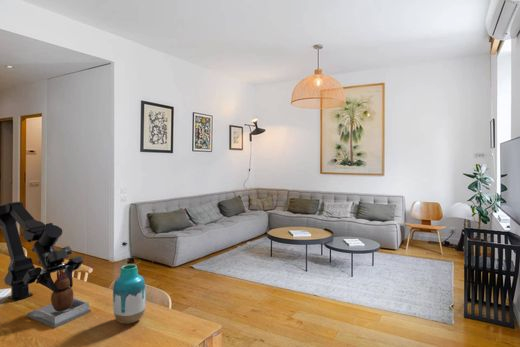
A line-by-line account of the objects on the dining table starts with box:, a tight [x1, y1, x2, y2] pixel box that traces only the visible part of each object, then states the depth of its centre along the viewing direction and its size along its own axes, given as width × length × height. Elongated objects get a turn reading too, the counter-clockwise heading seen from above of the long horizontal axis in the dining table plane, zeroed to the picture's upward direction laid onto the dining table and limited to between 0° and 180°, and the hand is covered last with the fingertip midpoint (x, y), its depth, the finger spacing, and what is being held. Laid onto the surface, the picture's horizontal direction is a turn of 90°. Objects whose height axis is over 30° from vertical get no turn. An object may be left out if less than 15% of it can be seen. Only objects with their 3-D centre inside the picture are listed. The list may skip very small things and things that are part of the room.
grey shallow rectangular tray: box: [26, 297, 92, 329], centre depth 120 cm, size 17×13×4 cm
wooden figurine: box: [50, 270, 75, 311], centre depth 118 cm, size 7×6×15 cm
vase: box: [112, 263, 147, 324], centre depth 115 cm, size 11×11×19 cm
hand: (64, 289), depth 117 cm, fingers closed on wooden figurine, 5 cm apart
